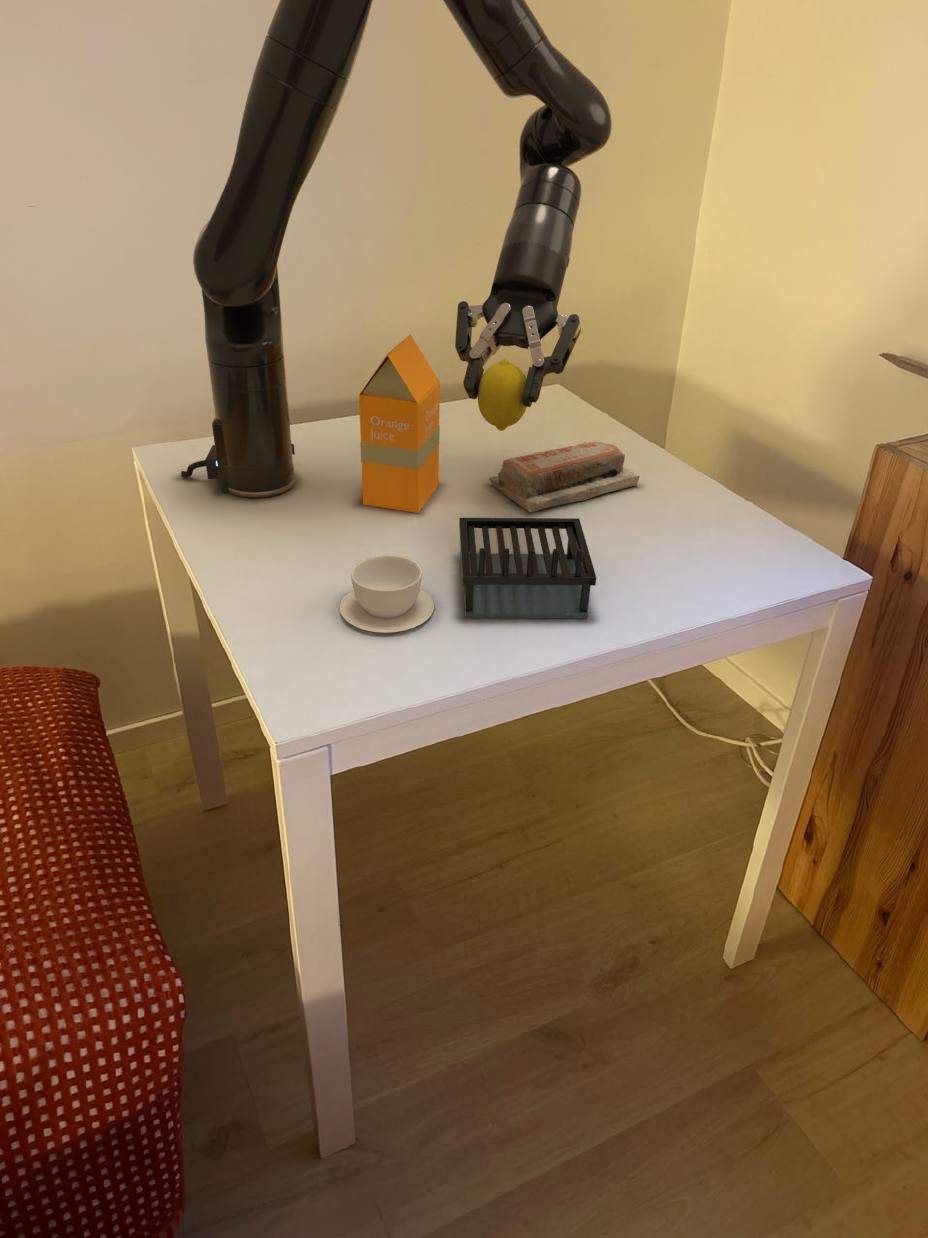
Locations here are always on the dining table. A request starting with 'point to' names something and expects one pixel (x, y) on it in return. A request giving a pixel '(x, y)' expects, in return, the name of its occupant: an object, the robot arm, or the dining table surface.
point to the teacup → (386, 595)
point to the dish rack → (525, 570)
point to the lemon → (502, 394)
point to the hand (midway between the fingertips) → (498, 399)
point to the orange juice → (400, 431)
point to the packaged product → (564, 475)
